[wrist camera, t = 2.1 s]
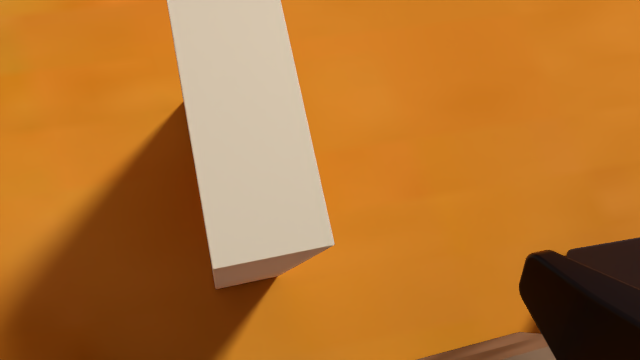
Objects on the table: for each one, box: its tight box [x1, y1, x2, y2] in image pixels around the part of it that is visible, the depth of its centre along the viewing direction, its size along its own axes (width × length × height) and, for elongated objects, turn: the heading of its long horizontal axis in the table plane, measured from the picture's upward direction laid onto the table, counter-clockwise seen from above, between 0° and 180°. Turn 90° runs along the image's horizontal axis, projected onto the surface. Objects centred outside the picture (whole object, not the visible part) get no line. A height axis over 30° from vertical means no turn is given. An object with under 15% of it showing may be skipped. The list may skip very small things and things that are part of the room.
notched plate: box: [167, 0, 335, 289], centre depth 16 cm, size 8×2×10 cm, turn 13°
